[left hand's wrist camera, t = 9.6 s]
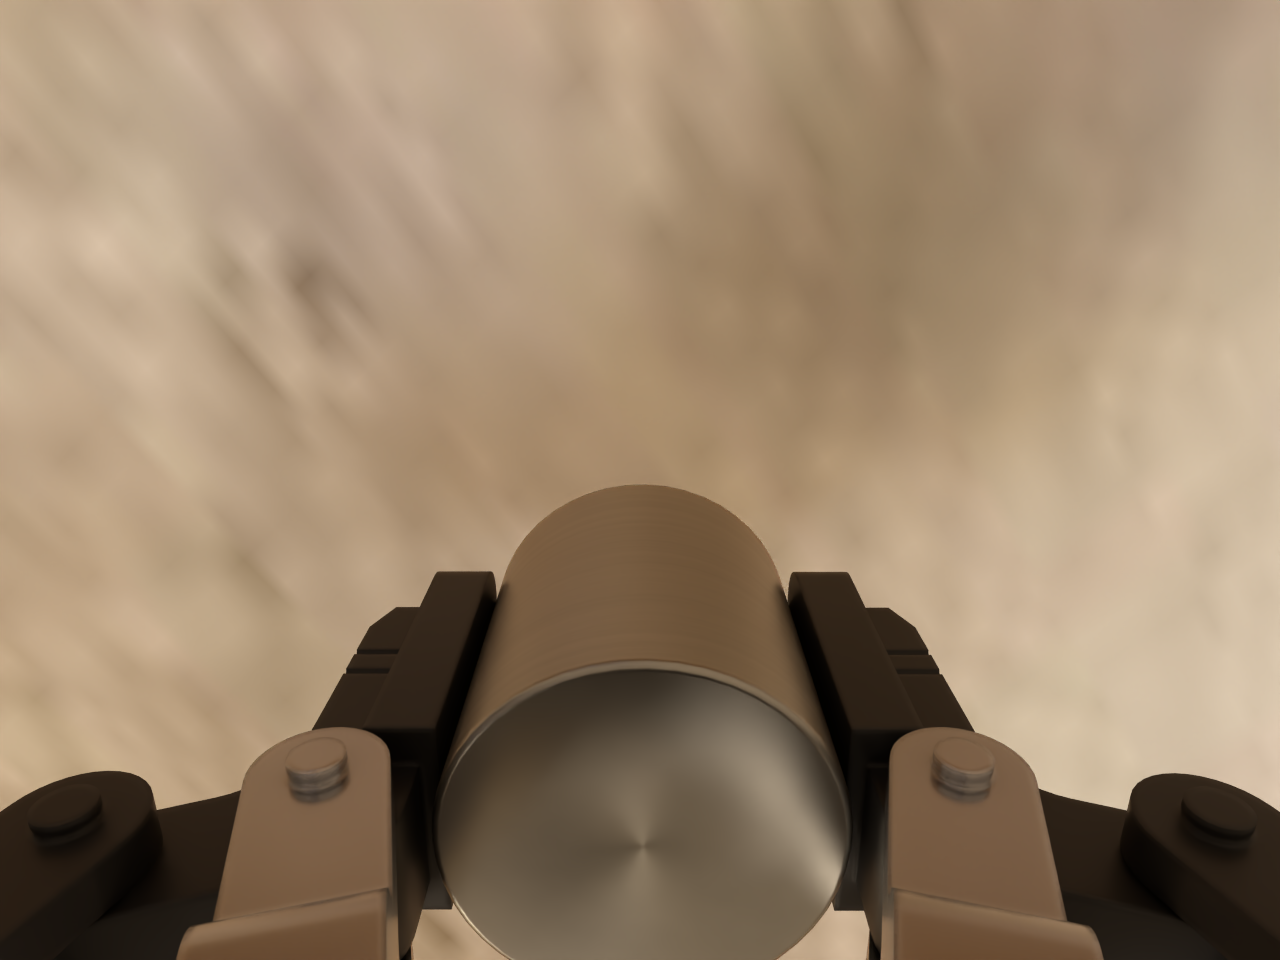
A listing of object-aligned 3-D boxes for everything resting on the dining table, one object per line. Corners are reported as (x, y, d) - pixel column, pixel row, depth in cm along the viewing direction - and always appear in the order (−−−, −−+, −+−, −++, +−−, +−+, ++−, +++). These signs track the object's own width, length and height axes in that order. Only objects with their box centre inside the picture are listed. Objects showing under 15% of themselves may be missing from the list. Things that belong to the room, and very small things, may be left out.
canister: (840, 572, 12) (942, 787, 8) (685, 774, 14) (706, 1055, 9) (590, 428, 12) (563, 584, 7) (450, 655, 13) (358, 901, 9)
